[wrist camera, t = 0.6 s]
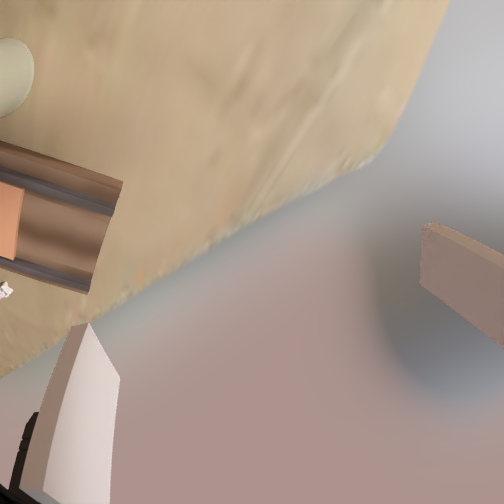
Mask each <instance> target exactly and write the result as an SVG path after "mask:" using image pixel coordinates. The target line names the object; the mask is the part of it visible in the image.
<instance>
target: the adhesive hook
mask: <svg viewBox="0 0 504 504" xmlns="http://www.w3.org/2000/svg"><path fill="white" fill-rule="evenodd" d="M7 285H8V283H7V282H6V281H5V282H4V283H3V284H2V285H1V286H0V299H1V298H2V297H6V298H7V297H8V296H9V295H10V294H11V293H12V292H13V290H12V289H11V288H9V287H8V286H7Z"/></svg>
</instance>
